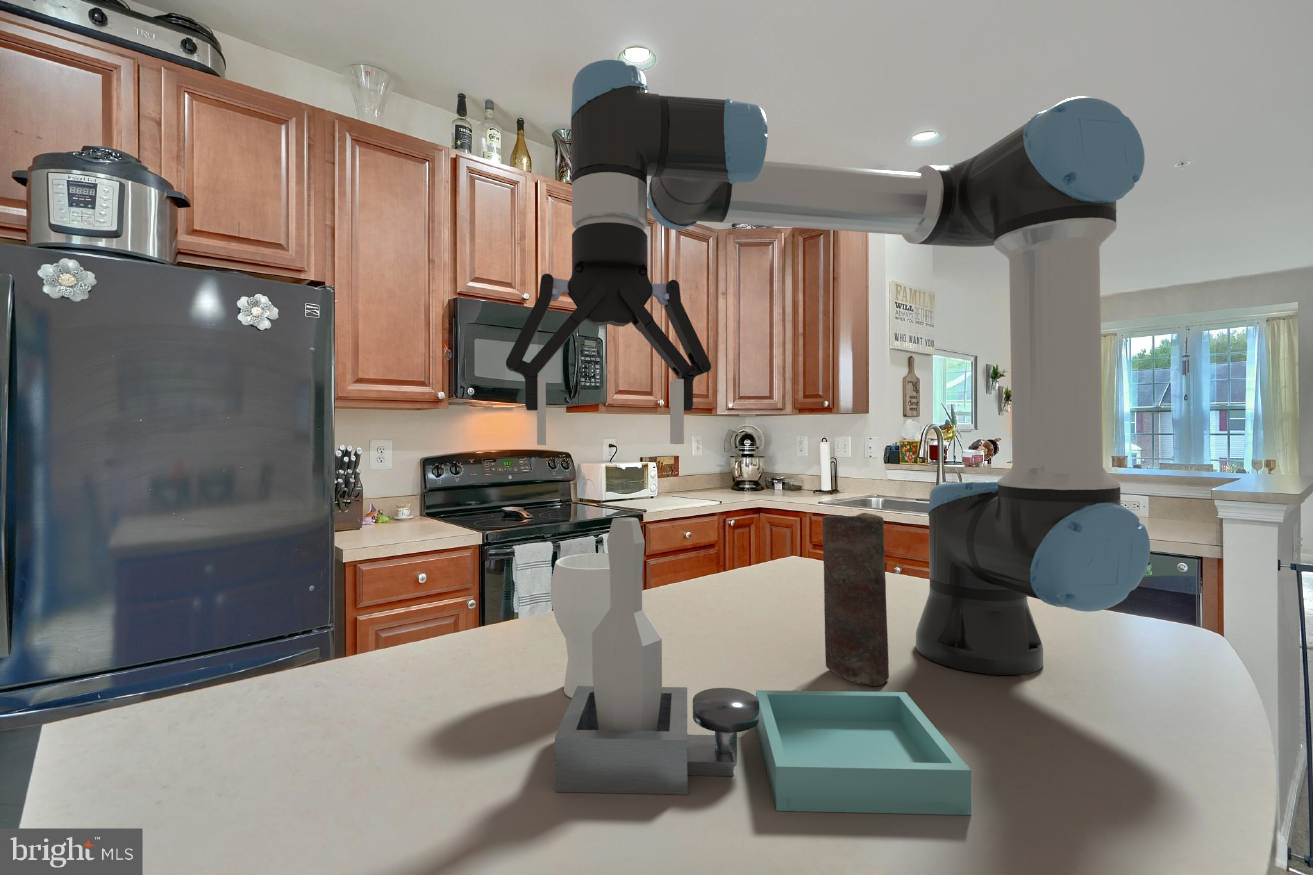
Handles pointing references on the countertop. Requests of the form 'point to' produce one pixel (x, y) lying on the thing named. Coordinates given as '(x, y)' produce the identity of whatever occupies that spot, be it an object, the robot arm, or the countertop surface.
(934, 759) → the tray
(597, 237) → the robot arm
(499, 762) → the countertop surface
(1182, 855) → the countertop surface
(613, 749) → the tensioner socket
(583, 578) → the cup
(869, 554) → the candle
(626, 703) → the grey faceted bottle
